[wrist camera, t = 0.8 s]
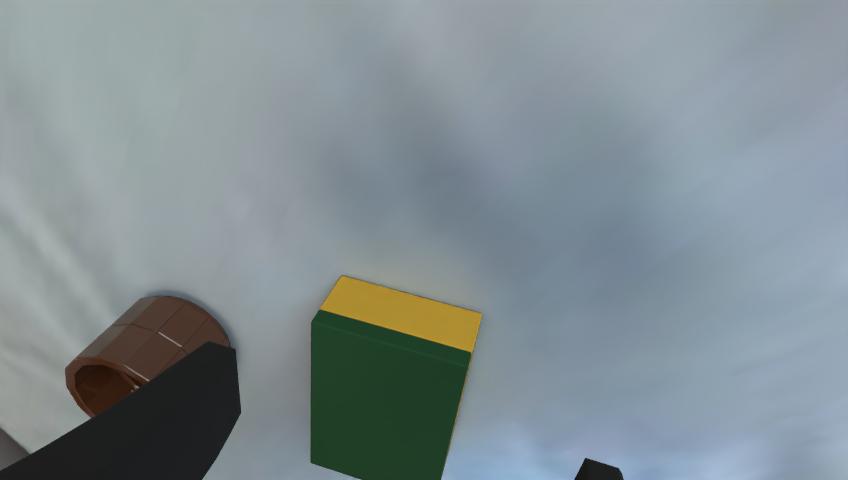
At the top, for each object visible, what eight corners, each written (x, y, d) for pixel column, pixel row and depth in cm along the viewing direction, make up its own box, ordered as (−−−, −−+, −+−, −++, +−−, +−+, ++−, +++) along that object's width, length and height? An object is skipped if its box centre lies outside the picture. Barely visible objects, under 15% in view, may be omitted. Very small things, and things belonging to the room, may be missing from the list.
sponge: (449, 448, 27) (434, 504, 25) (335, 412, 28) (309, 463, 25) (482, 313, 22) (468, 366, 19) (341, 274, 23) (310, 321, 20)
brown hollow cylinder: (242, 387, 29) (189, 463, 25) (146, 357, 30) (80, 426, 26) (234, 308, 26) (172, 380, 22) (126, 276, 26) (49, 341, 23)
